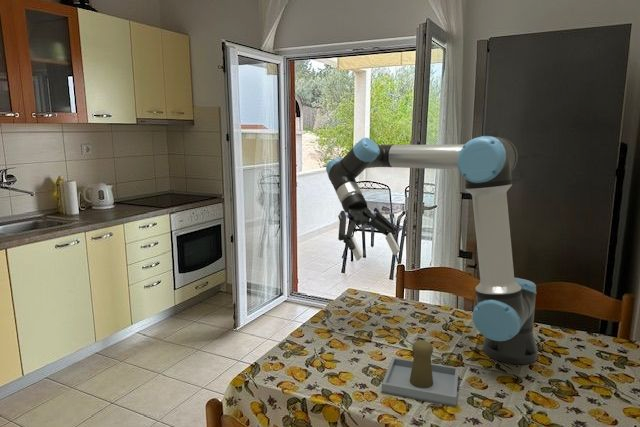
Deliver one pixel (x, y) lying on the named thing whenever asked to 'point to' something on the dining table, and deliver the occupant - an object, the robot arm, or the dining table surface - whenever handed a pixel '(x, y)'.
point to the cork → (422, 365)
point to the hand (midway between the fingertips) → (378, 255)
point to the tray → (437, 393)
